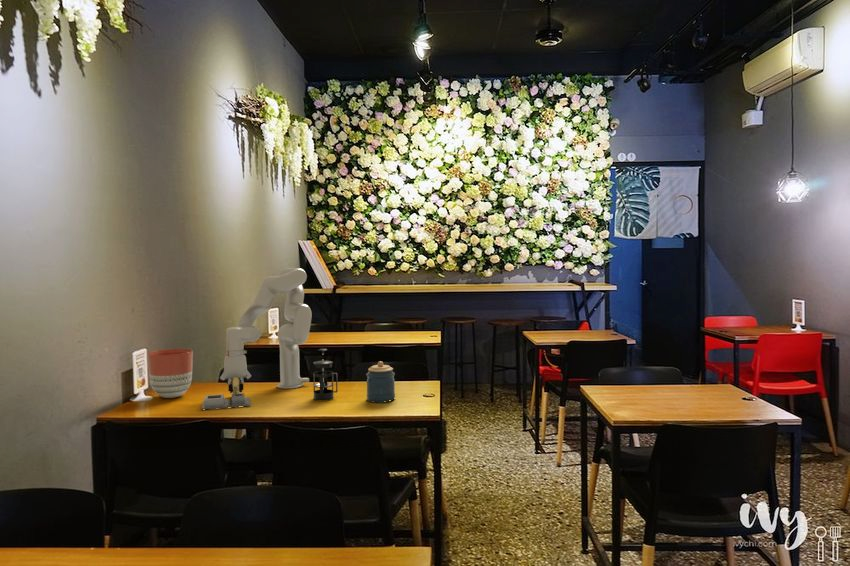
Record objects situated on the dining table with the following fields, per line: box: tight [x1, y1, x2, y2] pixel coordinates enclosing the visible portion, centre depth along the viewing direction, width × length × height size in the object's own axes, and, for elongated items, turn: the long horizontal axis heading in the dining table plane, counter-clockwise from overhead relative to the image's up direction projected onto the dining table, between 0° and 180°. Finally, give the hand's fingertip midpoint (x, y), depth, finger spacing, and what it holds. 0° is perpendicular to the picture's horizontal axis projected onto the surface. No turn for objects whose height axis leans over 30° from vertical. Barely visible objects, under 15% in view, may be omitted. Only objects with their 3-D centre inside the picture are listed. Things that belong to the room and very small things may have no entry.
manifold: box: [201, 392, 251, 411], centre depth 257 cm, size 20×14×4 cm
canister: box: [365, 360, 396, 403], centre depth 264 cm, size 13×13×18 cm
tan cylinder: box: [231, 377, 242, 395], centre depth 273 cm, size 4×4×10 cm
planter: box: [147, 348, 194, 399], centre depth 273 cm, size 20×20×21 cm
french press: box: [312, 348, 339, 401], centre depth 267 cm, size 12×9×23 cm
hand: (236, 391), depth 273 cm, fingers closed on tan cylinder, 4 cm apart
